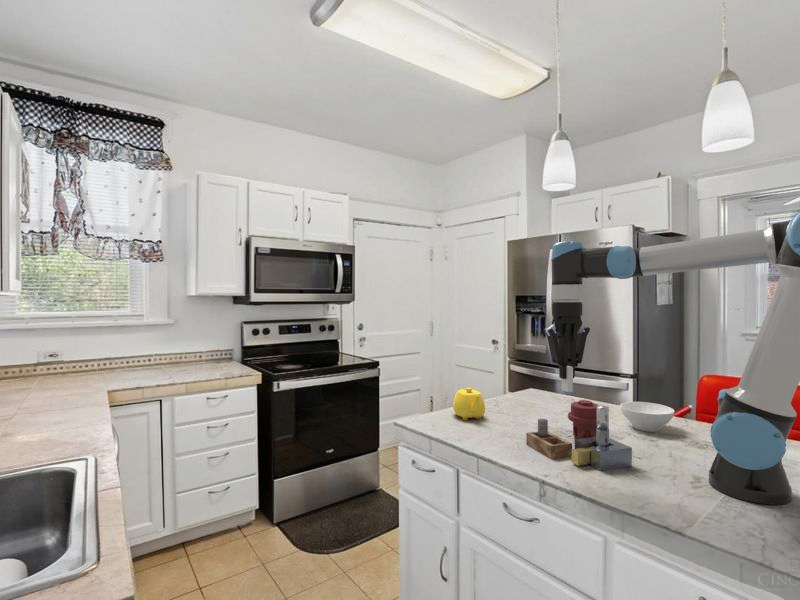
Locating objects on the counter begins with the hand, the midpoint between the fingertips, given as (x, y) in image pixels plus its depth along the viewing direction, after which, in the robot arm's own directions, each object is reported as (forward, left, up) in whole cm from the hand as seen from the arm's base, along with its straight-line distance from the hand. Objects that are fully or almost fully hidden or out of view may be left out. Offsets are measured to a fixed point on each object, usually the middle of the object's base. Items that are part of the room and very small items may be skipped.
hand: (567, 390), depth 116 cm
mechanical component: (+15, -18, -21) cm, 31 cm away
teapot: (+49, +4, -21) cm, 54 cm away
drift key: (0, -6, -20) cm, 21 cm away
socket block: (0, -11, -20) cm, 23 cm away
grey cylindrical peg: (0, -11, -20) cm, 23 cm away
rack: (+12, -3, -20) cm, 24 cm away
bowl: (+19, -46, -21) cm, 54 cm away
